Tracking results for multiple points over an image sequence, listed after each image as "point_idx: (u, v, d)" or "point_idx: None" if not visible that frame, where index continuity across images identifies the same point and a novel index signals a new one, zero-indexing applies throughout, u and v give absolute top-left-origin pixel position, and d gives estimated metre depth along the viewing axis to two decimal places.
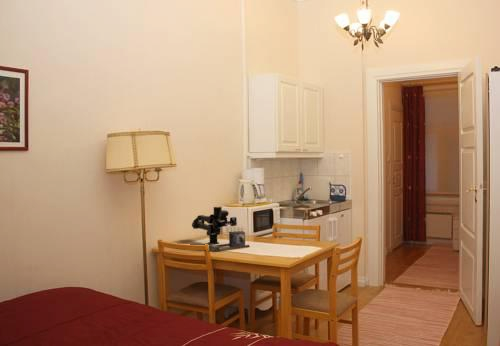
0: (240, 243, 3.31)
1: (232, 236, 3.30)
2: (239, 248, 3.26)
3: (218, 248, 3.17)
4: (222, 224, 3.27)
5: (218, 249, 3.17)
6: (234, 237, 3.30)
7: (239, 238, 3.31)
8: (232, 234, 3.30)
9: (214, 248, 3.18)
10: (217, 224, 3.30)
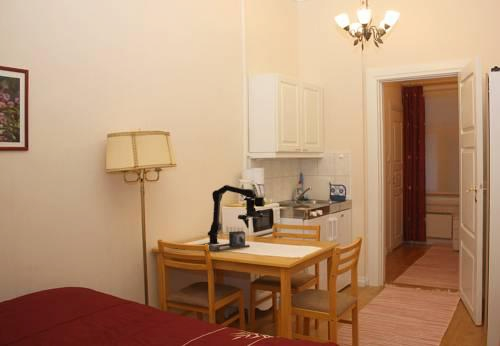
0: (240, 243, 3.31)
1: (232, 236, 3.30)
2: (239, 248, 3.26)
3: (218, 248, 3.17)
4: (246, 225, 3.38)
5: (218, 249, 3.17)
6: (234, 237, 3.30)
7: (239, 238, 3.31)
8: (232, 234, 3.30)
9: (214, 248, 3.18)
10: (244, 219, 3.38)
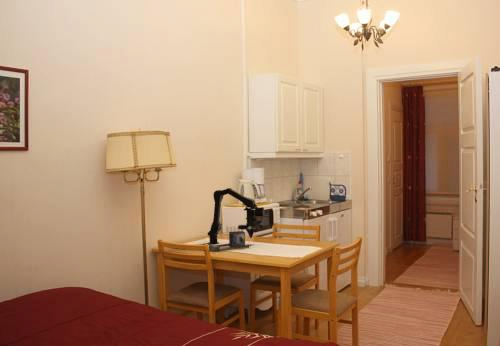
0: (240, 243, 3.31)
1: (232, 236, 3.30)
2: (239, 248, 3.26)
3: (218, 248, 3.17)
4: (249, 234, 3.40)
5: (218, 249, 3.17)
6: (234, 237, 3.30)
7: (239, 238, 3.31)
8: (232, 234, 3.30)
9: (214, 248, 3.18)
10: None
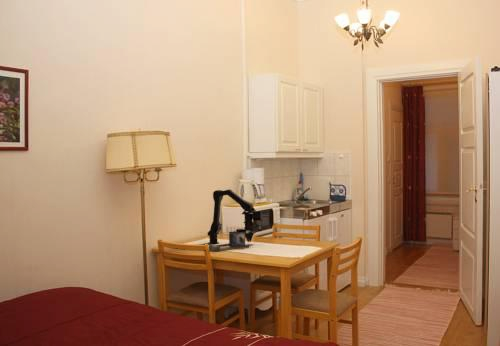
0: (240, 243, 3.31)
1: (232, 236, 3.30)
2: (239, 248, 3.26)
3: (218, 248, 3.17)
4: (247, 239, 3.39)
5: (218, 249, 3.17)
6: (234, 237, 3.30)
7: (239, 238, 3.31)
8: (232, 234, 3.30)
9: (214, 248, 3.18)
10: None
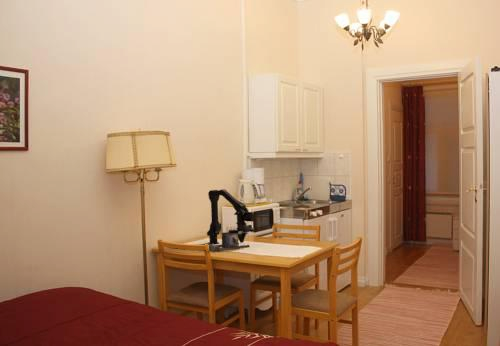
0: (233, 244, 3.28)
1: (225, 237, 3.26)
2: (239, 248, 3.26)
3: (218, 248, 3.17)
4: (240, 239, 3.35)
5: (218, 249, 3.17)
6: (227, 238, 3.26)
7: (232, 239, 3.27)
8: (225, 235, 3.26)
9: (214, 248, 3.18)
10: None
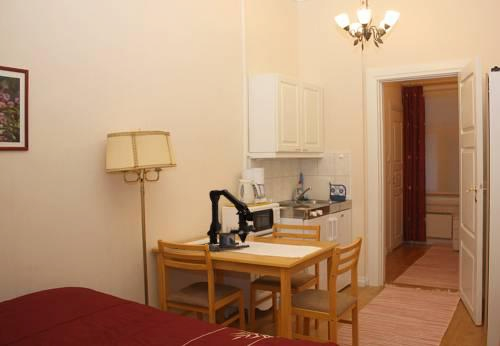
0: (230, 244, 3.26)
1: (222, 237, 3.25)
2: (239, 248, 3.26)
3: (218, 248, 3.17)
4: (241, 239, 3.36)
5: (218, 249, 3.17)
6: (224, 238, 3.25)
7: (229, 239, 3.26)
8: (222, 235, 3.25)
9: (214, 248, 3.18)
10: (239, 234, 3.35)
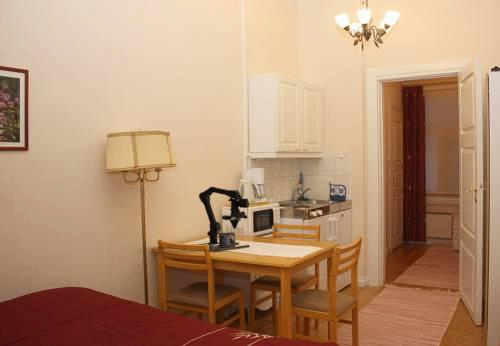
0: (230, 244, 3.26)
1: (222, 237, 3.25)
2: (239, 248, 3.26)
3: (218, 248, 3.17)
4: (233, 225, 3.42)
5: (218, 249, 3.17)
6: (224, 238, 3.25)
7: (229, 239, 3.26)
8: (222, 235, 3.25)
9: (214, 248, 3.18)
10: (230, 220, 3.41)
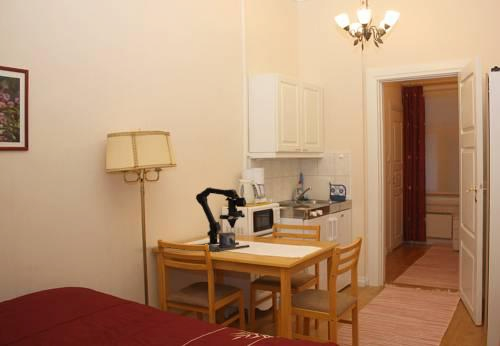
0: (230, 244, 3.26)
1: (222, 237, 3.25)
2: (239, 248, 3.26)
3: (218, 248, 3.17)
4: (230, 224, 3.43)
5: (218, 249, 3.17)
6: (224, 238, 3.25)
7: (229, 239, 3.26)
8: (222, 235, 3.25)
9: (214, 248, 3.18)
10: (228, 219, 3.42)
